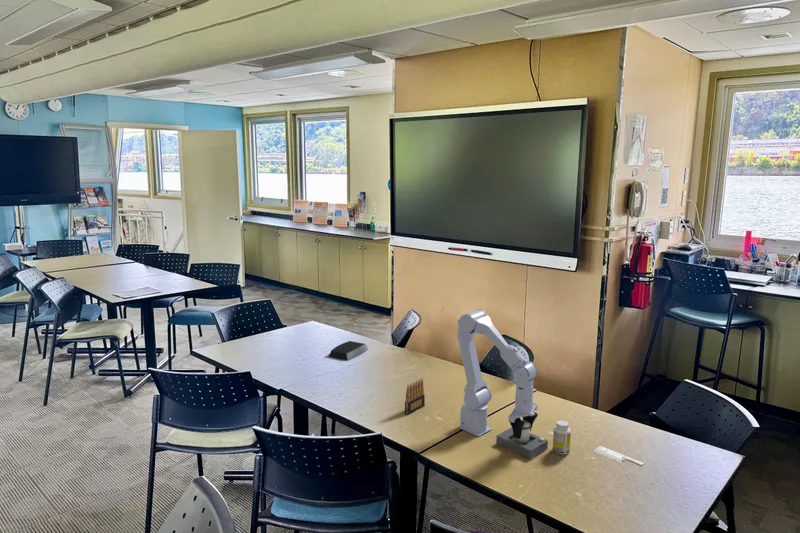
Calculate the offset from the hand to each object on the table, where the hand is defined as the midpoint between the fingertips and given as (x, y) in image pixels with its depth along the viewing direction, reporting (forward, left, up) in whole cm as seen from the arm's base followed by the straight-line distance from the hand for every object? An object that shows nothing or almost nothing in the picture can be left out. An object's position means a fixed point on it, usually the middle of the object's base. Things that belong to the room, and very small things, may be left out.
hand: (522, 435), depth 187 cm
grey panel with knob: (0, 0, -4) cm, 4 cm away
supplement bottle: (+11, +7, -4) cm, 14 cm away
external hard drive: (-114, +15, -5) cm, 116 cm away
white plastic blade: (+26, +17, -5) cm, 32 cm away
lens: (0, 0, -2) cm, 2 cm away
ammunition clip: (-45, -7, -4) cm, 46 cm away
